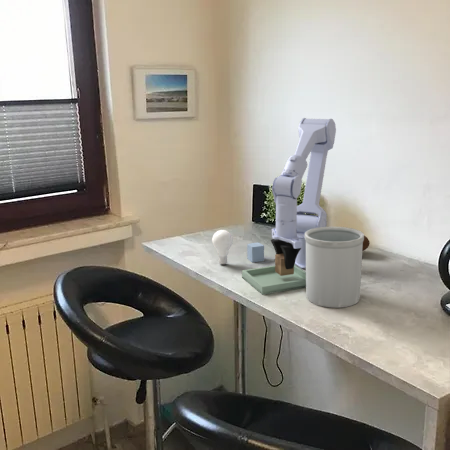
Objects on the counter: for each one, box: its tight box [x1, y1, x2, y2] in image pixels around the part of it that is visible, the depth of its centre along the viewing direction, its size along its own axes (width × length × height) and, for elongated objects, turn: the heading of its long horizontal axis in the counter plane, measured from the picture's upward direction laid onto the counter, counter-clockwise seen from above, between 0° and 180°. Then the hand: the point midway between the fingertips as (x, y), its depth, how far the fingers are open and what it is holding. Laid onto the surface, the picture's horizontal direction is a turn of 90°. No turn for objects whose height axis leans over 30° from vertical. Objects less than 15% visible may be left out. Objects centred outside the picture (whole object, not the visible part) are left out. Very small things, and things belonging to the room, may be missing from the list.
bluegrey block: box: [246, 242, 265, 264], centre depth 177 cm, size 4×4×5 cm
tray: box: [241, 264, 306, 295], centre depth 159 cm, size 16×14×2 cm
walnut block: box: [274, 253, 294, 276], centre depth 159 cm, size 4×4×5 cm
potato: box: [362, 234, 371, 252], centre depth 180 cm, size 7×10×8 cm
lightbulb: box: [211, 229, 234, 266], centre depth 173 cm, size 6×6×11 cm
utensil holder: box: [305, 226, 365, 309], centre depth 145 cm, size 15×15×18 cm
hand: (285, 265), depth 159 cm, fingers closed on walnut block, 4 cm apart
